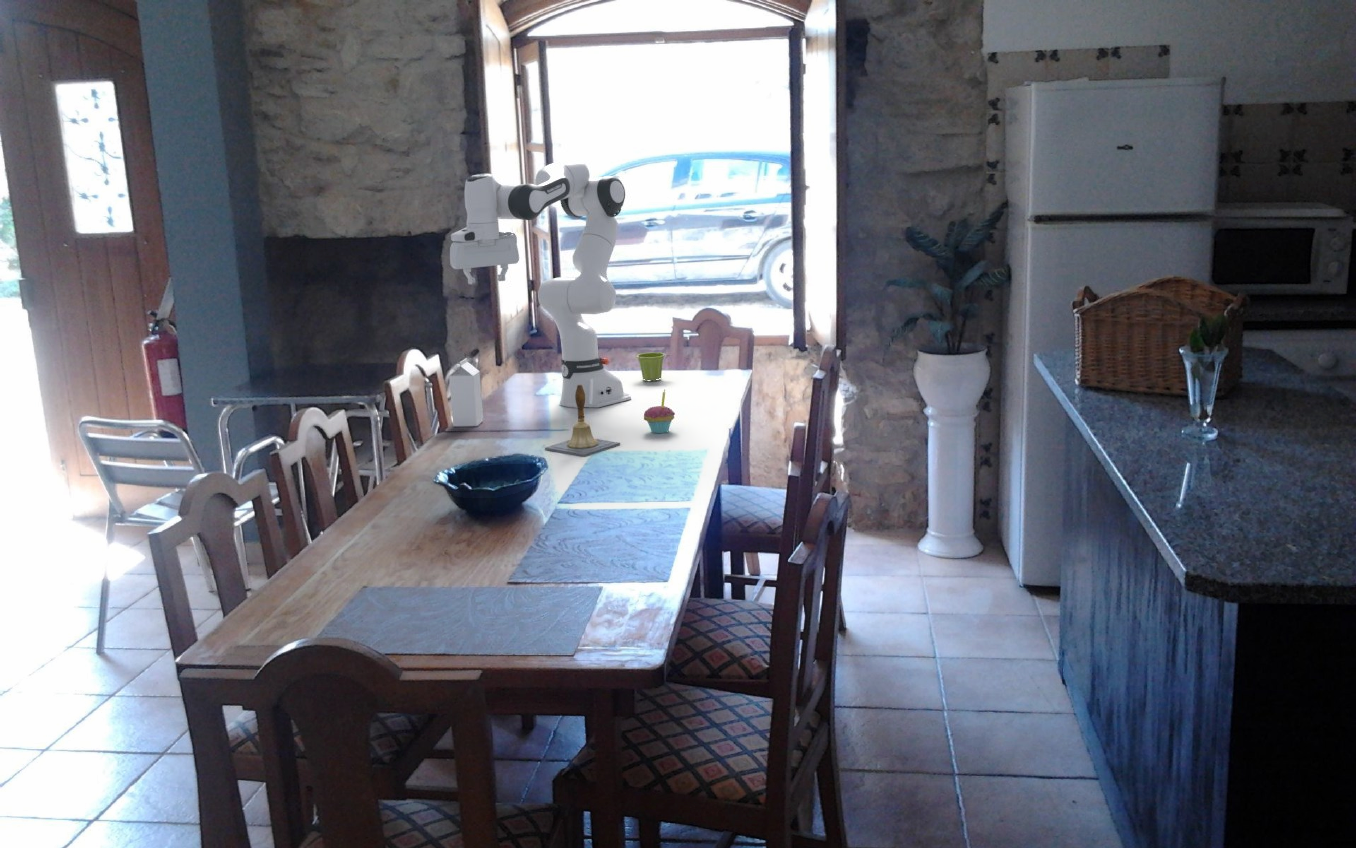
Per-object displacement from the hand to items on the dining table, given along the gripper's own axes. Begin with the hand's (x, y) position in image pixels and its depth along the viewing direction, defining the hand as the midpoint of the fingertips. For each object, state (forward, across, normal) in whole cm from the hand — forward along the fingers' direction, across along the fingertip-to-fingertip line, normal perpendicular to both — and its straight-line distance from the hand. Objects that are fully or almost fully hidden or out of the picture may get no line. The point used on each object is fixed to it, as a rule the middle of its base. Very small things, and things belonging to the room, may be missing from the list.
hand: (486, 282), depth 329 cm
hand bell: (+41, -3, +42) cm, 58 cm away
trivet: (+41, -3, +42) cm, 59 cm away
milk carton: (+41, +6, -6) cm, 42 cm away
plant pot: (+41, -70, -21) cm, 84 cm away
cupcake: (+41, -28, +42) cm, 65 cm away
